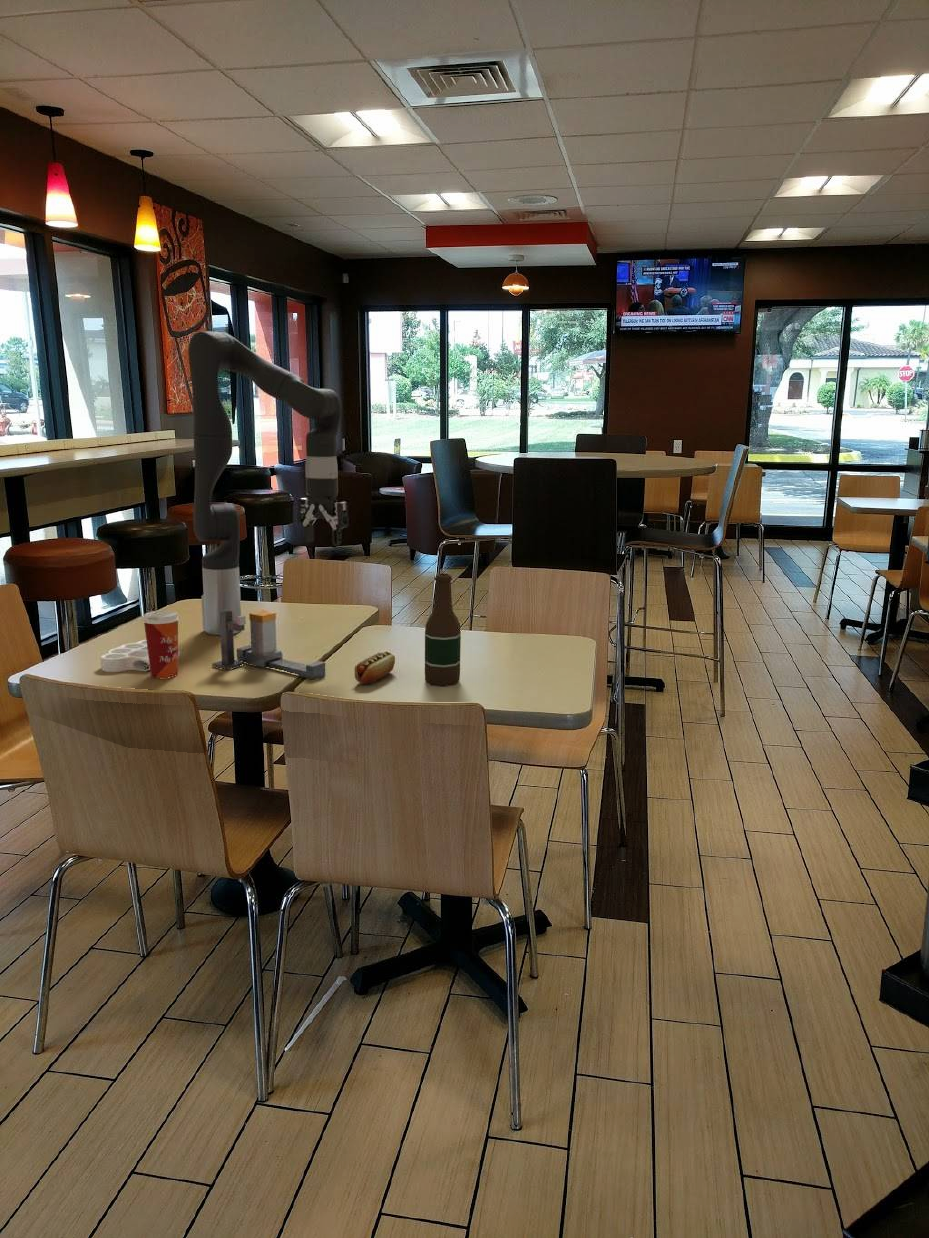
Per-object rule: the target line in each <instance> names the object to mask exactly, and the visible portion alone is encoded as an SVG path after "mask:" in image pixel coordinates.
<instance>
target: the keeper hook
mask: <svg viewBox="0 0 929 1238" xmlns="http://www.w3.org/2000/svg"><path fill="white" fill-rule="evenodd" d="M219 614H220V635H219V636H220V650H221V652H220V653H221V660H220V661H216V662H213V663H212V664H211V665H212V666H215V667H218V668H217V669H219V668H222V669H221V670H223V669H225V670H224V671H227V670H228V671H230V670H229V669H231V668H234V667H237V666H240V665H242V664H244V665H245V663H244V662H241V661H237V659H235V643H234V641H235V640H234V634H233V630H235V631H240V632H243V631H245V625H246V624H247V619H246V618H247V617H246V615H242V614H241V616H238V617H237V621H233V617H232V611H230V610H223V611H219ZM212 666H211V667H212ZM215 667H214V668H215ZM231 670H232V669H231Z"/></svg>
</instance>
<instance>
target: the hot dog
mask: <svg viewBox="0 0 929 1238" xmlns="http://www.w3.org/2000/svg"><path fill="white" fill-rule="evenodd" d="M395 664H396V657H395V655H394V654H392V653H391V652H389V651H388V650H387V651H384V652H378V653H375V654H373V655H372V656H369V657H367V658H366V659H364V660H362V661H360V662H359V663H357V664H356V665H355V666H354V678H355V680H356V681H357V682H358V683H360V684H363V685H368V684H372V683H375V682H378V681H379V680H381V679H383V678H385V677H386V676H387V675H389V674H390V673H391V672H392V671H393V669H394V667H395Z"/></svg>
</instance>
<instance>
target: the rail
mask: <svg viewBox="0 0 929 1238" xmlns="http://www.w3.org/2000/svg"><path fill="white" fill-rule="evenodd" d="M247 651H251V644H248V645H245V646H241V647H238V648H236V660H238V661H242V662H246V652H247ZM266 667H269V668H275V669H279V670H284V671H287V672H290V673H295V674H298V675H299V676H298V677H301V678H305V679H309V680H313V681H314V680H316V679H319V678H322V677H324V676H326V662H324V661H319V660H317V661H314V662H312V663H309V664H305V663H301V662H296V661H292V660H288V659H285V658H282V659H280V658H277V659H273V660H270V661H267V662H266Z"/></svg>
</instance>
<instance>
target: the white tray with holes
mask: <svg viewBox="0 0 929 1238" xmlns="http://www.w3.org/2000/svg"><path fill="white" fill-rule="evenodd" d="M180 656H181V651H180V650H179V649H178V658H179V657H180ZM100 665H101V671H103V672H107V673H118V672H123V671H129V670H131V671H133V670H134V671H139V672H141V671H142V672H148V671H151V670H150V663H149V656H148V648H147V640H146V639H142V640H140V641H137V642H132V643H125V644H122V645H120V646H118V647H115V648H111V649H110V650H108V651H107V653H105V654H103V655H100Z"/></svg>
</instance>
